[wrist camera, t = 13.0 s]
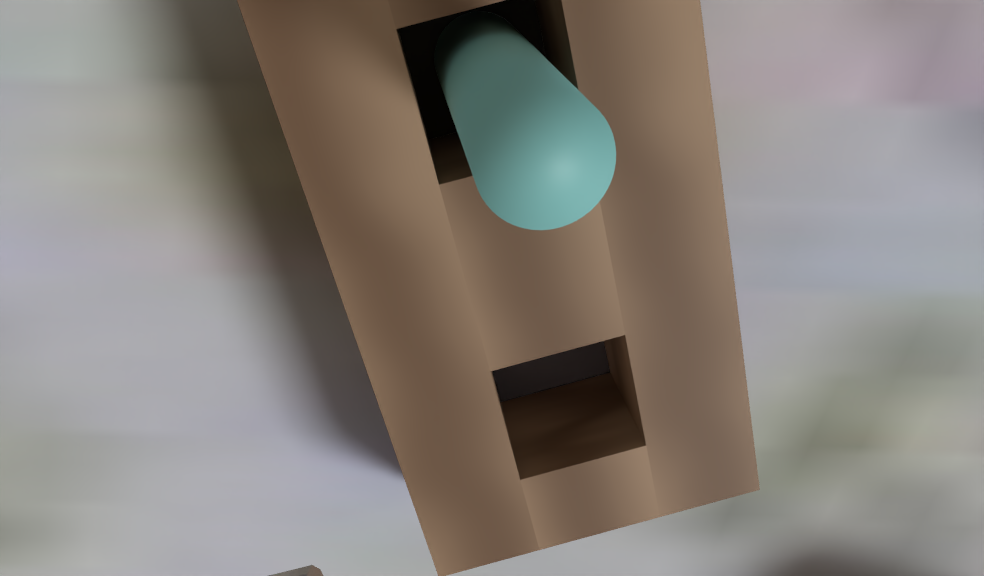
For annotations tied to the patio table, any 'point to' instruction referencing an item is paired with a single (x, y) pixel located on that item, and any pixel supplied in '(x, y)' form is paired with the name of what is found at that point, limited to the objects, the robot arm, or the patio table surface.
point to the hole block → (526, 275)
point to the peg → (522, 125)
